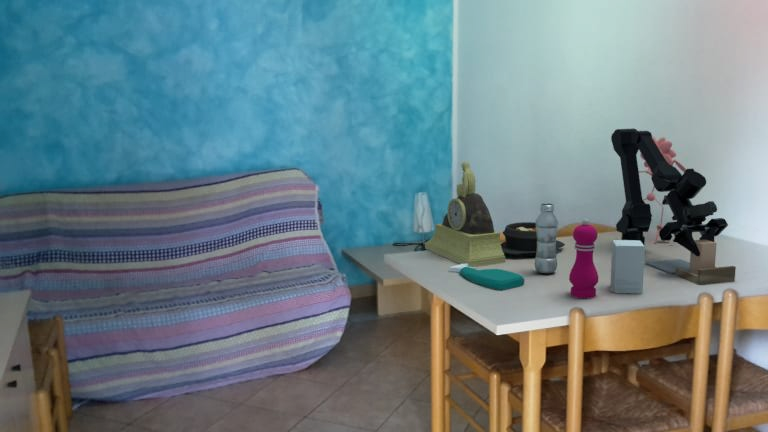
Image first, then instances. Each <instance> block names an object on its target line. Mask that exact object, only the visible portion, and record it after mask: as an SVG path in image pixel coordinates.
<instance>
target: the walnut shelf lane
mask: <svg viewBox="0 0 768 432" xmlns="http://www.w3.org/2000/svg"><path fill="white" fill-rule="evenodd" d="M736 267H737V266H735V265H728V266H727V265H726V266H717V267H716V266H715V268H706V269H698V275H696V274H694V273H691V272H688V271H686V270H683V269H680V268H676V274H675V276H676V277H679V278H682V279H684V280H687V281H689V282H692V283H695V284H696V285H699V286H700V285H711V283H712V284H719V283H720V282H721V283H728V282H729V283H730V282H735V281H736V269H737V268H736Z"/></svg>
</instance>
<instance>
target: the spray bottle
mask: <svg viewBox="0 0 768 432" xmlns="http://www.w3.org/2000/svg"><path fill="white" fill-rule="evenodd" d="M476 268H477V267H469V266H468V264H467V263H466V264H457V265H453V266H450V267H448V269H449V270H448V271H449V272H450V273H451V272H452V273H453V272H454V273H460V275H462V276H463V277H464V278H465V279H467V280H468V281H470V282H472V283H474V284H477V285H479V286H482V287H484V288H489V289H493V290H497V291H507V290H510V289H515V288H519V287H522V286H523V285H524V284H525V278H524V276H523V275H521V274H519V273H516V272H513V271H509V270H506V269H505V270H504V269H499V268H486V269H476Z"/></svg>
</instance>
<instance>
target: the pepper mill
mask: <svg viewBox="0 0 768 432" xmlns="http://www.w3.org/2000/svg"><path fill="white" fill-rule="evenodd" d="M581 223H582V224H579V225H577V226H576V227H575V228H574V229H573V231H572V232H573V233H572V239H574V240H575V243H574V250H576V251H575V252H576V255H575V260H574V263H573V265H572V268H571V270H570V273H569V278H568V279H569V282H570V284H571V285H572V286H571V287H570V295H571V296H572V297H573V298H574V297H575V298H577V299H592V298H595V297H596V296H597V288H596V287H595V286H597V284H598V283H599V273H598V270H597V268H596V266H595V263H594V251H595V250H596V244H595V242H596V241H597V239H598V230H597V229H596V227H595V226H593V225H590V220H589V219H588V218H583V219H582V220H581ZM574 240H573V241H574Z"/></svg>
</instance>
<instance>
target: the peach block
mask: <svg viewBox="0 0 768 432" xmlns="http://www.w3.org/2000/svg"><path fill="white" fill-rule="evenodd" d="M694 241H695V243H696V245H697V247H698V249H699V252H700V256H696V255H694V254H693V253H692V252H690V255H689V256H690V257H689V258H690V259H689V262H690V269H689V272H691V273H694V274H696V275H698V269H706V268H715V267H716V255H717V242H715V241H714V242H712V241H709V240H699V239H696V240H694Z"/></svg>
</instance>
